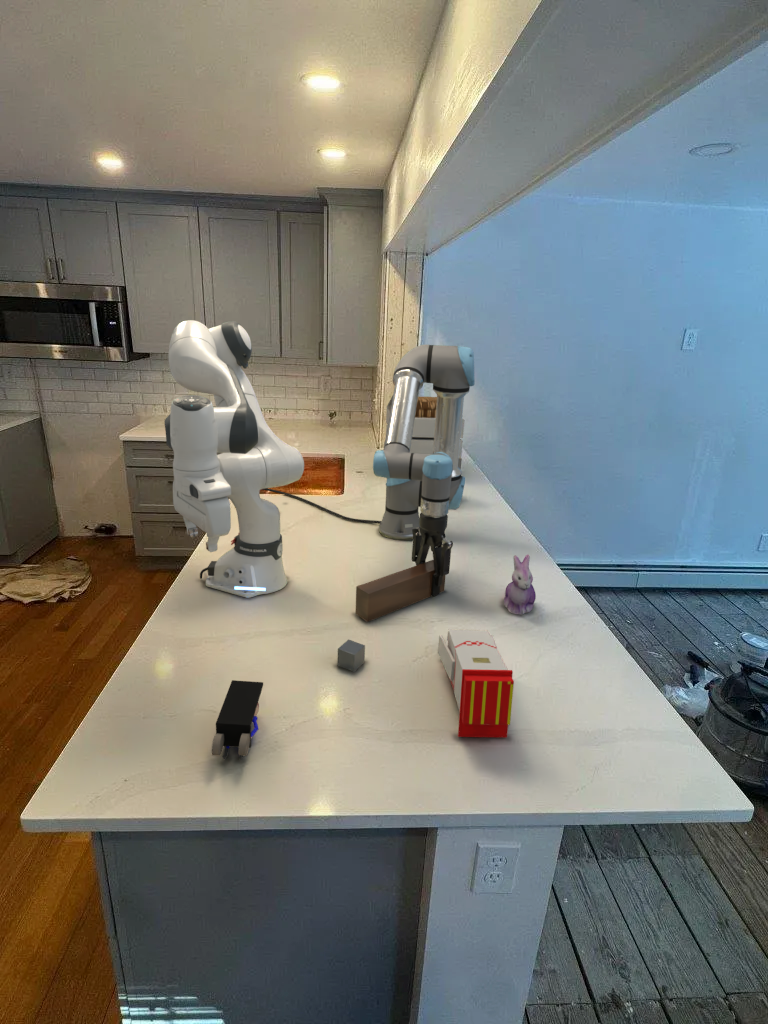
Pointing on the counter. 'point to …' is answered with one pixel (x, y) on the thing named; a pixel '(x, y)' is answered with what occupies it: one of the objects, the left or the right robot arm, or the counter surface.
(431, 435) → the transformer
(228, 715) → the black wheeled block
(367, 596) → the walnut plank
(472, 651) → the toy
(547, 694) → the counter surface
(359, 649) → the slate block
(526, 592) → the figurine
